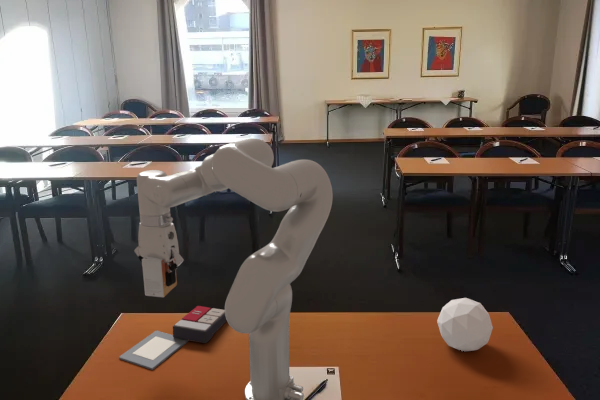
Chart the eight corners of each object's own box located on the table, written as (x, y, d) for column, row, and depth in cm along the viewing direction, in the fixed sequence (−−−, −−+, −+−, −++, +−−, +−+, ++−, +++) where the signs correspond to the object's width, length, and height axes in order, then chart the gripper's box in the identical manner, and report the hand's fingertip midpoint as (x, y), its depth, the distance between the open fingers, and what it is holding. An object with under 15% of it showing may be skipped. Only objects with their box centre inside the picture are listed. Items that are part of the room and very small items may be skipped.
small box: (163, 298, 124) (160, 261, 121) (144, 296, 125) (140, 259, 122) (177, 284, 132) (175, 249, 129) (159, 282, 133) (156, 247, 130)
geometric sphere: (446, 359, 139) (421, 312, 142) (489, 336, 141) (464, 289, 144) (464, 364, 125) (436, 311, 128) (512, 338, 127) (483, 287, 130)
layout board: (188, 341, 140) (188, 339, 139) (152, 370, 127) (152, 367, 126) (156, 332, 145) (156, 330, 144) (118, 358, 132) (118, 356, 131)
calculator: (228, 309, 150) (205, 329, 136) (228, 321, 151) (206, 343, 137) (197, 304, 153) (171, 324, 139) (197, 316, 154) (172, 337, 140)
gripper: (191, 219, 122) (195, 282, 128) (140, 209, 130) (145, 270, 135) (172, 228, 116) (177, 294, 121) (119, 217, 123) (125, 280, 128)
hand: (160, 281), depth 128 cm, fingers closed on small box, 6 cm apart
